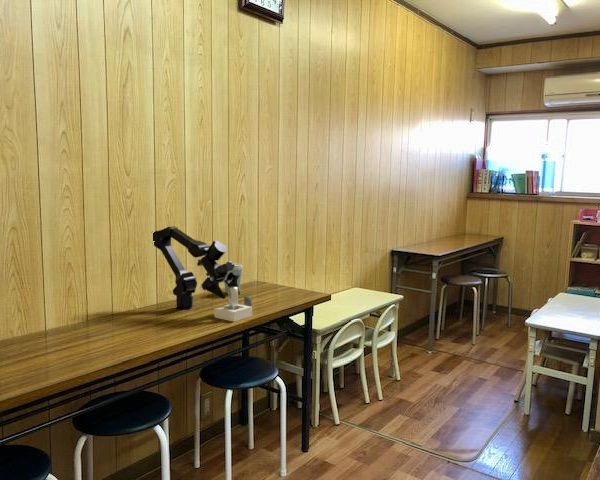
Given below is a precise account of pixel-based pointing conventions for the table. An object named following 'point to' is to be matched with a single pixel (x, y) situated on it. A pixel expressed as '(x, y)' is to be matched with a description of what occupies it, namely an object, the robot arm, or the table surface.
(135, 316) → the table surface
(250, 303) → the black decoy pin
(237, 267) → the disposable coffee cup
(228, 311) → the socket block
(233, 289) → the steel pin
